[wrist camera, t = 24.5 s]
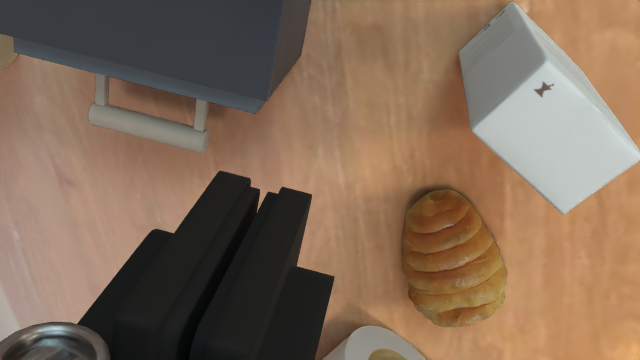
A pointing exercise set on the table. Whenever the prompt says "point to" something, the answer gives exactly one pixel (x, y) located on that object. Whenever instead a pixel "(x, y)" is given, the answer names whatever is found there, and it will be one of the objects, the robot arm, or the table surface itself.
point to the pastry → (451, 261)
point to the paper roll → (6, 51)
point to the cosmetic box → (541, 111)
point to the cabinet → (173, 36)
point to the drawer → (139, 122)
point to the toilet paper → (374, 346)
